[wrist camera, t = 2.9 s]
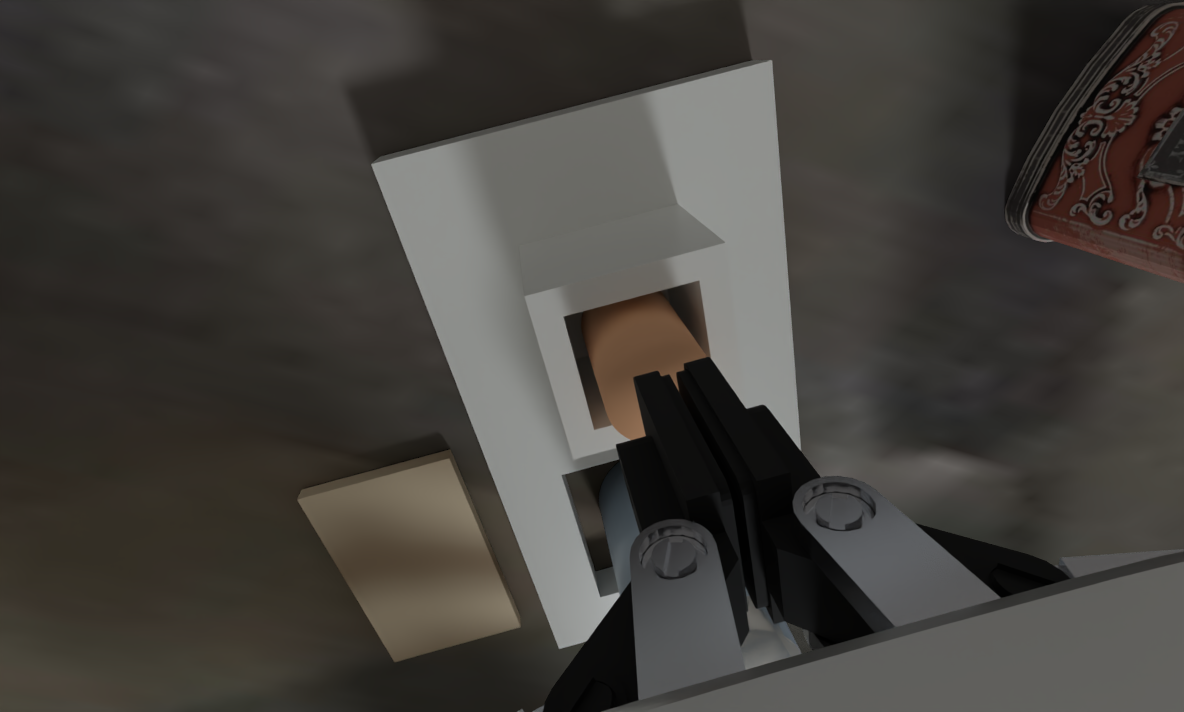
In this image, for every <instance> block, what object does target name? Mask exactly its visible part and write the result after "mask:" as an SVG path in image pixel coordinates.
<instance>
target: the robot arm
mask: <svg viewBox="0 0 1184 712" xmlns="http://www.w3.org/2000/svg"><path fill="white" fill-rule="evenodd" d="M676 377H677V383H678V389H679V391H678V389H677V387H676V385H675V384H674V382H673V380H672V378H671V376H670V375H669V374H668V375H664V376H661V375H660V373H659V371H653V372H650V373H646V374H642V375H639V376H635V377H633V380H634V386H635V390H636V395H637V399H638V404H639V408H640V413H641V417H642V422H643V426H644V431H645V435H646V436H645V437H641V438H637V439H633V440H630V441H626V442H622V443H619V444H616V449H617V453H618V457H619V461H620V464H621V468H622V472H623V476H624V480H625V484H626V487H627V491H628V495H629V498H630V502H631V505H632V509H633V512H634V516H635V519H636V522H637V526H638V529H639V533H640V534H639V535H638V536H637V537H636V539H635V541H634V542H633V544H632V546H631V550H630V574H631V581H630V583H629V584H628V585H627V587H626V588H625V589H624V591H623V592H622V594H621V595H620V596H619V598H618V599H617V600H616V602H615V603H614V604H613V606H612V607H611V609H610V610H609V611H608V613H607V614H606V615H605V617H604V618H603V620H602V621H601V622H600V624H599V625H598V626H597V628H596V629H595V630H594V632H593V633H592V635H591V636H590V637H589V639H588V640H587V641H586V643H585V644H584V645H583V647H582V648H581V650H580V651H579V652H578V654H577V655H576V656H575V658H574V659H573V661H572V662H571V663H570V665H569V666H568V667H567V669H566V670H565V671H564V673H563V674H562V676H561V677H560V678H559V680H558V681H557V682H556V684H555V685H554V686H553V688H552V690H551V692H550V694H549V695H548V697H547V699H546V701H545V704H544V705H543V706H541V707H540V708H538V709H536V710H534V711H532V712H1184V549H1179V550H1165V551H1150V552H1136V553H1122V554H1107V555H1093V556H1079V557H1064V558H1060V562H1059V565H1056V566H1053V565H1052V564H1050V563H1048V562H1047V561H1044V560H1042V559H1039V558H1036V557H1034V556H1031V555H1028V554H1025V553H1021V552H1018V551H1014V550H1010V549H1007V548H1003V547H999V546H996V545H992V544H989V543H985V542H981V541H978V540H974V539H970V538H967V537H963V536H959V535H956V534H952V533H948V532H945V531H941V530H938V529H934V528H930V527H927V526H923V525H919V524H916V523H914V522H913V521H911V520H910V519H909V518H908V517H907V516H906V515H905V514H903V513H902V512H901V511H900V510H899V509H898V508H896V507H895V506H894V505H893V504H892V503H891V502H889V501H888V500H887V499H886V498H885V497H884V496H883V495H881V494H880V493H879V492H878V491H877V490H875V489H874V488H872V487H871V486H869V485H868V484H866V483H864V482H862V481H859V480H856V479H853V478H849V477H842V476H825V477H820V476H819V474H818V473H817V472H816V470H815V469H814V468H813V467H812V465H811V464H810V463H809V461H808V460H807V459H806V457H805V456H804V455H803V453H802V452H801V451H800V449H799V448H798V447H797V445H796V444H795V443H794V442H793V440H792V439H791V438H790V436H789V435H788V434H787V432H786V431H785V430H784V428H783V427H782V426H781V424H780V423H779V422H778V420H777V419H776V418H775V417H774V415H773V414H772V413H771V411H770V410H769V409H768V408H767V407H766V406H765V405H759V406H755V407H751V408H748V409H746V408H745V406H744V405H743V403H742V402H741V401H740V399H739V398H738V396H737V395H736V393H735V392H734V390H733V389H732V388H731V386H730V385H729V383H728V382H727V380H726V379H725V378H724V376H723V375H722V373H721V372H720V370H719V369H718V368H717V366H716V365H715V363H714V362H713V360H712V359H711V358H710V357H705V358H702V359H698V360H694V361H691V362H687V363H684V370H683V371H679V372H677V373H676ZM745 587H746V589H747V592H748V594H749V596H750V598H751V600H752V602H753V604H754V606H755V608H756V609H759V608H763V607H766V609H767V611H768V613H769V615H770V617H771V619H772V621H773V623H774V624H777V623H780V622H784V621H786V622H788V623H790V624H793V625H795V626H798V627H800V628H803V632H804V636H805V638H806V640H807V642H808V644H809V646H810V647H811V649H812V650H813V651H810V652H806V653H803V654H799V655H796V656H792V657H789V658H785V659H781V660H778V661H774V662H771V663H767V664H764V665H760V666H757V667H753V668H750V669H746V668H745V664H744V660H743V655H742V651H741V646H742V644H743V642H744V640H745V638H746V637H747V635H748V633H749V624H748V617H747V612H748V603H747V596H746V590H745ZM517 712H524V710H523V709H521V710H519V711H517Z"/></svg>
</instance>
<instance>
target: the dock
mask: <svg viewBox="0 0 1184 712" xmlns="http://www.w3.org/2000/svg"><path fill="white" fill-rule="evenodd" d="M371 165H372V168H373V170H374V173H375V176H376V178H377V181H378V183H379V186H380V188H381V191H382V194H383V196H384V199H385V201H386V204H387V207H388V209H389V212H390V214H391V217H392V219H393V222H394V225H395V227H396V230H397V232H398V235H399V237H400V240H401V243H402V245H403V248H404V250H405V253H406V255H407V258H408V261H409V263H410V266H411V268H412V271H413V273H414V276H415V279H416V281H417V284H418V286H419V289H420V292H421V294H422V297H423V299H424V302H425V304H426V307H427V310H428V312H429V315H430V317H431V320H432V322H433V325H434V328H435V330H436V333H437V335H438V338H439V340H440V343H441V346H442V348H443V351H444V353H445V356H446V358H447V361H448V364H449V366H450V369H451V371H452V374H453V377H454V379H455V382H456V384H457V387H458V389H459V392H460V395H461V397H462V400H463V402H464V405H465V407H466V410H467V413H468V415H469V418H470V420H471V423H472V425H473V428H474V431H475V433H476V436H477V438H478V441H479V443H480V446H481V449H482V451H483V454H484V456H485V459H486V461H487V464H488V467H489V469H490V472H491V474H492V477H493V480H494V482H495V485H496V487H497V490H498V492H499V495H500V498H501V500H502V503H503V505H504V508H505V510H506V513H507V516H508V518H509V521H510V523H511V526H512V528H513V531H514V534H515V536H516V539H517V541H518V544H519V546H520V549H521V552H522V554H523V557H524V559H525V562H526V565H527V567H528V570H529V572H530V575H531V577H532V580H533V583H534V585H535V588H536V590H537V593H538V595H539V598H540V601H541V603H542V606H543V608H544V611H545V613H546V616H547V619H548V621H549V624H550V626H551V629H552V631H553V634H554V637H555V639H556V642H557V644H558V647H559V649H561V648H564V647H568V646H572V645H575V644H579V643H582V642H586V641H587V640H588V639H589V637H590V636H591V635H592V633H593V632H594V630H595V629H596V628H597V626H598V625H599V624H600V622H601V621H602V620H603V618H604V617H605V615H606V614H607V613H608V611H609V610H610V609H611V607H612V606H613V604H614V603H615V602H616V600H617V599H618V598H619V596H620V594H619V590H618V586H617V581H616V577H615V573H614V568H613V567H610V568H606V569H602V570H599V571H595V569H594V565H593V562H592V559H591V556H590V553H589V549H588V546H587V543H586V540H585V537H584V534H583V530H582V527H581V524H580V521H579V518H578V514H577V511H576V508H575V505H574V502H573V499H572V495H571V492H570V489H569V486H568V483H567V479H566V476H565V474H568V473H571V472H575V471H579V470H582V469H586V468H590V467H593V466H597V465H600V464H604V463H608V462H611V461H615V460H619V457H618V453H617V449H616V444H619V443H622V442H626V441H630V439H628V438H626V437H624V436H623V435H622V434H620V433H619V432H618V431H617V430H616V429H615V428H614V427H613V425H612V424H611V422H610V420H609V418H608V416H607V413H606V410H605V407H604V403H603V400H602V397H601V394H600V390H599V387H598V384H597V381H596V377H595V374H594V371H593V368H592V364H591V361H590V358H589V355H588V351H587V348H586V345H585V342H584V338H583V335H582V330H581V319H582V314H583V311H586V310H590V309H594V308H598V307H601V306H605V305H609V304H613V303H616V302H620V301H624V300H628V299H631V298H635V297H639V296H643V295H646V294H650V293H654V292H657V291H661V292H662V294H663V295H664V296H665V297H666V299H667V300H668V302H669V303H670V305H671V306H672V307H673V309H674V310H675V312H676V313H677V315H678V316H679V317H680V319H681V320H682V322H683V323H684V325H685V326H686V327H687V329H688V330H689V332H690V333H691V334H692V336H693V337H694V339H695V340H696V342H697V343H698V344H699V346H700V347H701V349H702V350H703V352H704V353H705V354H706V356H707V357H710V358H711V359H712V360H713V362H714V363H715V365H716V366H717V368H718V369H719V370H720V372H721V373H722V375H723V376H724V378H725V379H726V380H727V382H728V383H729V385H730V386H731V388H732V389H733V390H734V392H735V393H736V395H737V396H738V398H739V399H740V401H741V402H742V403H743V405H744V406H745V408H746V409H748V408H751V407H755V406H759V405H765V406H766V407H767V408H768V409H769V410H770V411H771V413H772V414H773V415H774V417H775V418H776V419H777V420H778V422H779V423H780V424H781V426H782V427H783V428H784V430H785V431H786V432H787V434H788V435H789V436H790V438H791V439H792V440H793V442H794V443H795V444H796V445H797V447H798V448H799V449H800V451H801V444H800V431H799V417H798V404H797V390H796V377H795V363H794V350H793V336H792V323H791V309H790V296H789V283H788V269H787V256H786V242H785V229H784V215H783V202H782V188H781V175H780V161H779V148H778V135H777V121H776V108H775V94H774V81H773V67H772V60H751V61H747V62H743V63H739V64H736V65H732V66H728V67H724V68H720V69H716V70H712V71H709V72H705V73H701V74H697V75H693V76H689V77H685V78H682V79H678V80H674V81H670V82H666V83H662V84H658V85H654V86H651V87H647V88H643V89H639V90H635V91H631V92H627V93H624V94H620V95H616V96H612V97H608V98H604V99H600V100H597V101H593V102H589V103H585V104H581V105H577V106H573V107H570V108H566V109H562V110H558V111H554V112H550V113H546V114H543V115H539V116H535V117H531V118H527V119H523V120H519V121H515V122H512V123H508V124H504V125H500V126H496V127H492V128H488V129H485V130H481V131H477V132H473V133H469V134H465V135H461V136H458V137H454V138H450V139H446V140H442V141H438V142H434V143H431V144H427V145H423V146H419V147H415V148H411V149H407V150H404V151H400V152H396V153H392V154H388V155H384V156H380V157H379V158H378V159H377V160H375V161H374V162H373V163H372V164H371Z"/></svg>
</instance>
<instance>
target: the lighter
mask: <svg viewBox="0 0 1184 712" xmlns="http://www.w3.org/2000/svg"><path fill="white" fill-rule="evenodd" d="M1005 218H1006V222H1007V224H1008V225H1009V227H1010V229H1012V230H1013V231H1014V232H1016V233H1017V234H1019V235H1022V236H1025V237H1028V238H1031V239H1034V240H1038V241H1042V242H1051V241H1056V242H1059V243H1062V244H1065V245H1069V246H1072V247H1075V248H1078V249H1081V250H1084V251H1087V252H1090V253H1093V254H1096V255H1099V256H1102V257H1105V258H1108V259H1111V260H1114V261H1117V262H1120V263H1123V264H1126V265H1130V266H1133V267H1136V268H1139V269H1142V270H1145V271H1148V272H1151V273H1154V274H1157V275H1160V276H1163V277H1166V278H1169V279H1172V280H1175V281H1178V282H1181V283H1184V2H1181V3H1169V4H1157V5H1147V6H1144V7H1142V8H1140V9H1138V10H1136V11H1134V12H1133V13H1132V14H1130V15H1129V16H1128V17H1127V18H1126V19H1125V20H1124V21H1123V22H1122V23H1121V24H1120V26H1119V27H1118V28H1117V29H1116V30H1115V32H1114V33H1113V34H1112V35H1111V36H1110V38H1109V39H1108V40H1107V41H1106V42H1105V44H1104V45H1103V46H1102V47H1101V48H1100V50H1099V51H1098V52H1097V53H1096V54H1095V56H1094V57H1093V58H1092V59H1091V60H1090V62H1089V63H1088V64H1087V65H1086V67H1085V68H1084V70H1083V71H1082V72H1081V74H1080V75H1079V77H1078V78H1077V79H1076V81H1075V82H1074V84H1073V85H1072V86H1071V88H1070V89H1069V91H1068V92H1067V94H1066V95H1065V96H1064V98H1063V99H1062V101H1061V102H1060V103H1059V105H1058V106H1057V108H1056V109H1055V110H1054V112H1053V114H1052V116H1051V117H1050V119H1049V121H1048V123H1047V124H1046V126H1045V128H1044V130H1043V131H1042V133H1041V135H1040V136H1039V138H1038V140H1037V142H1036V143H1035V145H1034V147H1033V149H1032V150H1031V152H1030V154H1029V156H1028V157H1027V160H1026V162H1025V164H1024V166H1023V168H1022V170H1021V172H1020V175H1019V177H1018V179H1017V181H1016V183H1015V185H1014V187H1013V190H1012V192H1011V194H1010V196H1009V198H1008V201H1007V204H1006V208H1005Z"/></svg>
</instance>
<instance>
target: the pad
mask: <svg viewBox="0 0 1184 712" xmlns="http://www.w3.org/2000/svg"><path fill="white" fill-rule="evenodd" d="M297 501H298V502H299V504H300V506H301V507H302V509H303V511H304V512H305V514H306V516H307V517H308V519H309V521H310V522H311V524H312V526H313V527H314V529H315V531H316V532H317V534H318V536H319V537H320V539H321V541H322V542H323V544H324V546H325V547H326V549H327V551H328V552H329V554H330V556H331V557H332V559H333V561H334V562H335V564H336V566H337V567H338V569H339V571H340V572H341V574H342V576H343V577H344V579H345V581H346V582H347V584H348V586H349V587H350V589H351V591H352V592H353V594H354V596H355V597H356V599H357V601H358V602H359V604H360V606H361V607H362V609H363V611H364V612H365V614H366V616H367V617H368V619H369V621H370V622H371V624H372V626H373V627H374V629H375V631H376V632H377V634H378V636H379V637H380V639H381V641H382V642H383V644H384V646H385V647H386V649H387V651H388V652H389V654H390V656H391V657H392V659H393V661H394V662H397V661H401V660H404V659H408V658H412V657H415V656H419V655H422V654H426V653H429V652H433V651H437V650H440V649H444V648H447V647H451V646H455V645H458V644H462V643H465V642H469V641H472V640H476V639H480V638H483V637H487V636H490V635H494V634H498V633H501V632H505V631H508V630H512V629H515V628H519V627H521V619H520V614H519V612H518V609H517V607H516V605H515V602H514V600H513V597H512V595H511V593H510V590H509V588H508V586H507V583H506V581H505V578H504V576H503V574H502V571H501V569H500V566H499V564H498V562H497V559H496V557H495V555H494V552H493V550H492V547H491V545H490V543H489V540H488V538H487V535H486V533H485V531H484V528H483V526H482V524H481V521H480V519H479V516H478V514H477V512H476V509H475V507H474V504H473V502H472V500H471V497H470V495H469V493H468V490H467V488H466V485H465V483H464V481H463V478H462V476H461V473H460V471H459V469H458V466H457V464H456V461H455V459H454V457H453V454H452V452H451V450H446V451H442V452H438V453H435V454H431V455H427V456H424V457H420V458H416V459H413V460H409V461H405V462H402V463H398V464H394V465H391V466H387V467H383V468H379V469H376V470H372V471H368V472H365V473H361V474H357V475H354V476H350V477H346V478H343V479H339V480H335V481H332V482H328V483H324V484H321V485H317V486H313V487H309V488H306V489H302V490H301V492H300V494H299V496H298V499H297Z"/></svg>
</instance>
